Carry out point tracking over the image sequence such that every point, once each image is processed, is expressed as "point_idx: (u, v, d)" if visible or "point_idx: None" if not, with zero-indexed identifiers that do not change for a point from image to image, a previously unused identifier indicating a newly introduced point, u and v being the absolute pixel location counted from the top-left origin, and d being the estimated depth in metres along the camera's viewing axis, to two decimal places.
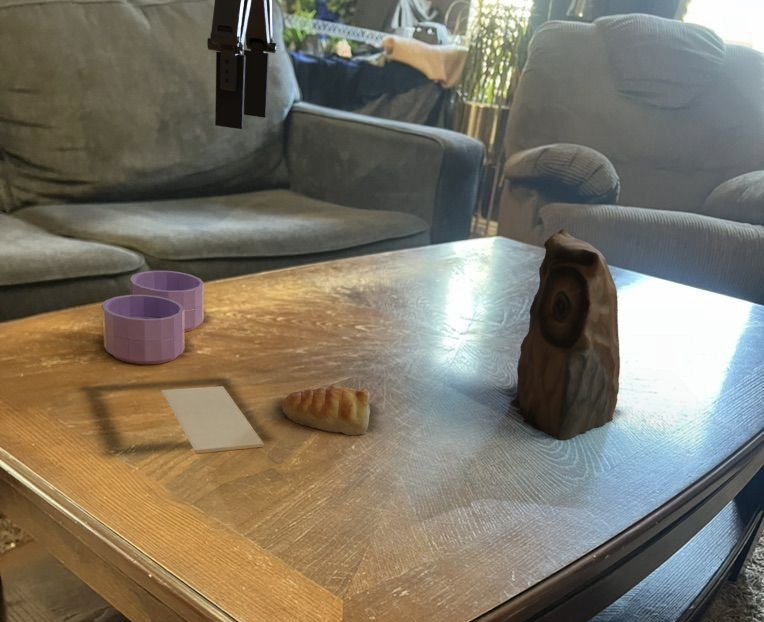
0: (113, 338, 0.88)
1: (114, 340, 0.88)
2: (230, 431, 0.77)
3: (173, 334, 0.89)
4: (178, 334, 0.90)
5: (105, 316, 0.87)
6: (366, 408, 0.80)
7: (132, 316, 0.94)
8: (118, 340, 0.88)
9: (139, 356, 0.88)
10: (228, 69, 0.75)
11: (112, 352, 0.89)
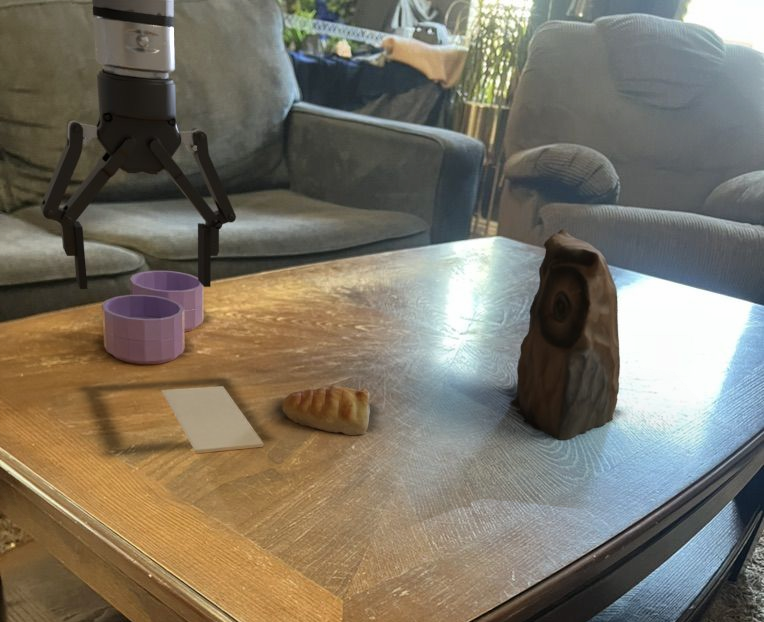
0: (113, 338, 0.88)
1: (114, 340, 0.88)
2: (230, 431, 0.77)
3: (173, 334, 0.89)
4: (178, 334, 0.90)
5: (105, 316, 0.87)
6: (366, 408, 0.80)
7: (132, 316, 0.94)
8: (118, 340, 0.88)
9: (139, 356, 0.88)
10: None
11: (112, 352, 0.89)
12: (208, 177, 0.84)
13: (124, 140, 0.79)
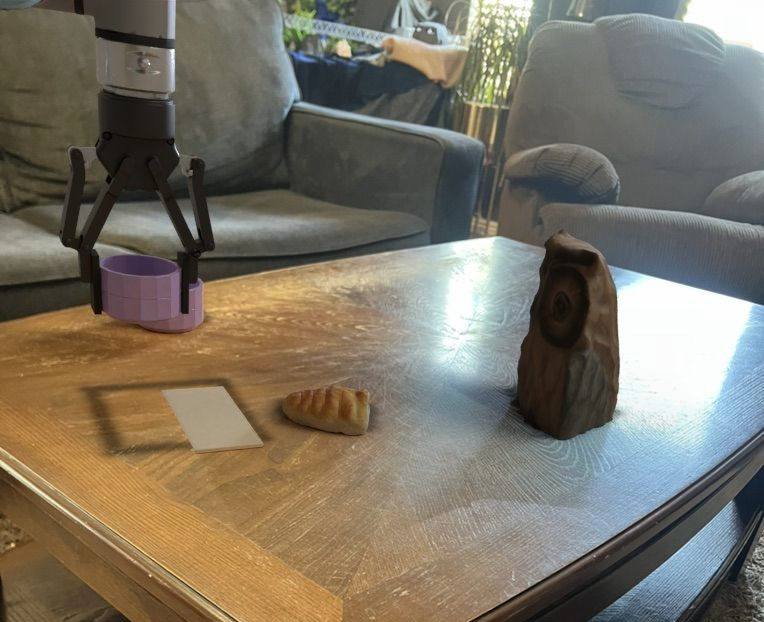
0: (108, 296, 0.85)
1: (109, 298, 0.85)
2: (230, 431, 0.77)
3: (170, 293, 0.87)
4: (175, 294, 0.88)
5: (100, 273, 0.85)
6: (366, 408, 0.80)
7: None
8: (113, 298, 0.85)
9: (134, 315, 0.86)
10: None
11: (106, 311, 0.86)
12: (197, 203, 0.85)
13: (122, 160, 0.80)
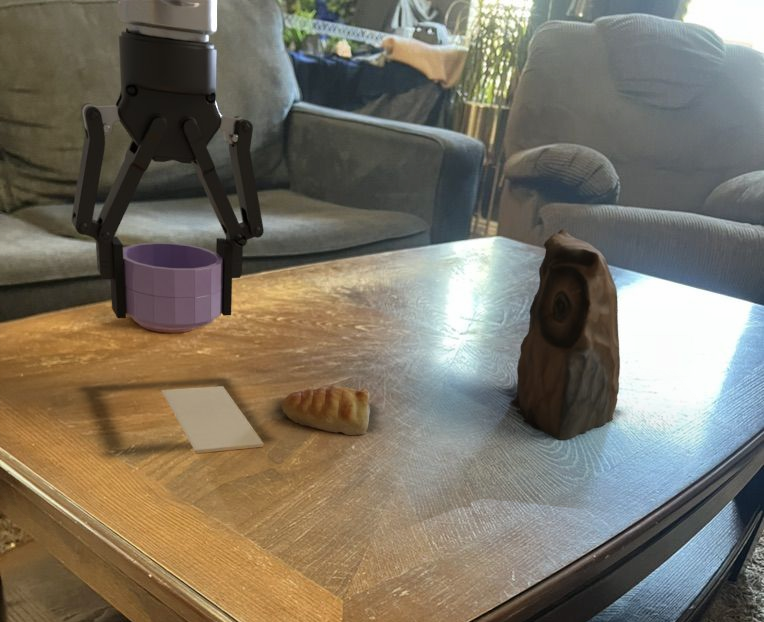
0: (134, 294, 0.68)
1: (135, 297, 0.68)
2: (230, 431, 0.77)
3: (210, 290, 0.70)
4: (216, 290, 0.71)
5: None
6: (366, 408, 0.80)
7: None
8: (140, 297, 0.68)
9: (167, 318, 0.69)
10: (99, 256, 0.68)
11: (131, 313, 0.70)
12: (242, 177, 0.68)
13: (151, 121, 0.63)
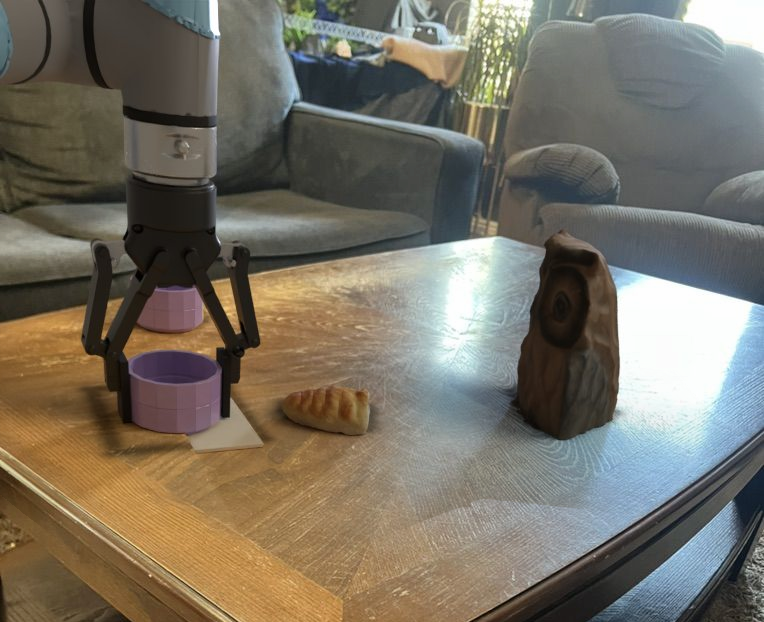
0: (138, 406, 0.73)
1: (140, 408, 0.73)
2: (230, 431, 0.77)
3: (210, 400, 0.75)
4: (215, 399, 0.75)
5: (129, 380, 0.73)
6: (366, 408, 0.80)
7: (159, 375, 0.79)
8: (145, 408, 0.73)
9: (170, 427, 0.74)
10: None
11: (136, 421, 0.74)
12: (240, 296, 0.73)
13: (155, 255, 0.67)
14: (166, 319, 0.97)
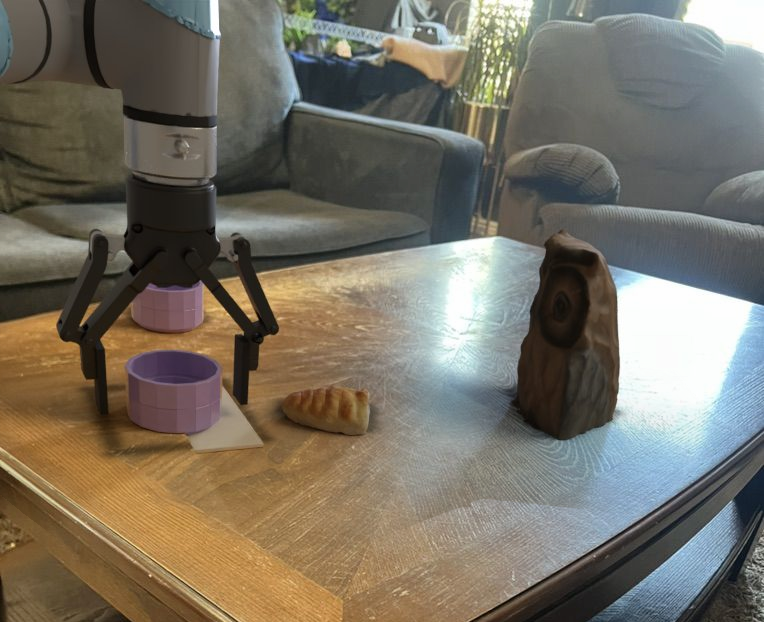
0: (139, 406, 0.73)
1: (140, 408, 0.73)
2: (230, 431, 0.77)
3: (210, 400, 0.75)
4: (215, 399, 0.75)
5: (129, 380, 0.73)
6: (366, 408, 0.80)
7: (159, 375, 0.79)
8: (145, 408, 0.73)
9: (170, 427, 0.74)
10: None
11: (136, 421, 0.74)
12: (250, 288, 0.73)
13: (156, 253, 0.67)
14: (166, 319, 0.97)
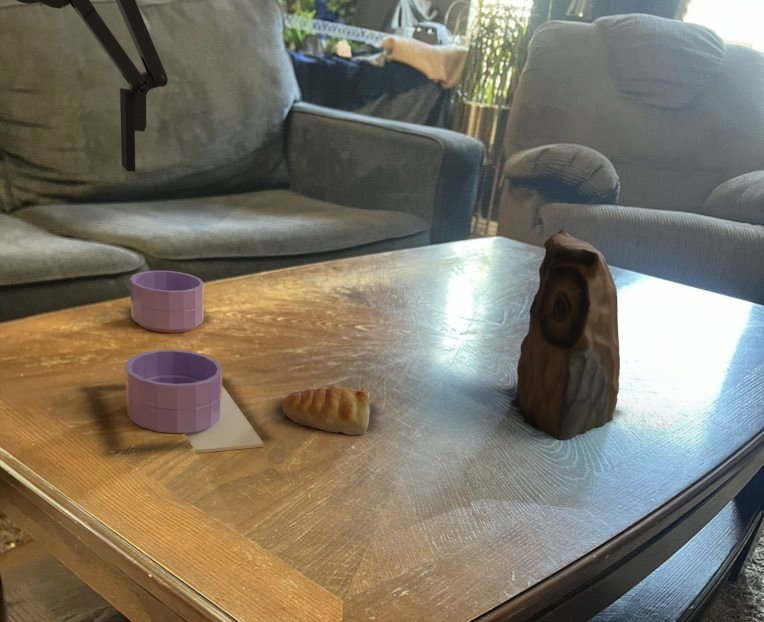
0: (139, 406, 0.73)
1: (140, 408, 0.73)
2: (230, 431, 0.77)
3: (210, 400, 0.75)
4: (215, 399, 0.75)
5: (129, 380, 0.73)
6: (366, 408, 0.80)
7: (159, 375, 0.79)
8: (145, 408, 0.73)
9: (170, 427, 0.74)
10: None
11: (136, 421, 0.74)
12: (130, 20, 0.66)
13: None
14: (166, 319, 0.97)
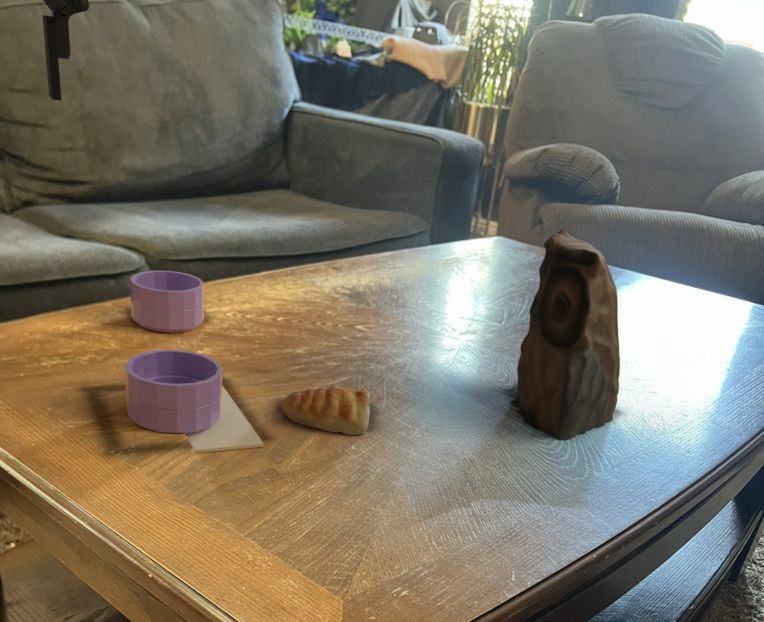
0: (139, 406, 0.73)
1: (140, 408, 0.73)
2: (230, 431, 0.77)
3: (210, 400, 0.75)
4: (215, 399, 0.75)
5: (129, 380, 0.73)
6: (366, 408, 0.80)
7: (159, 375, 0.79)
8: (145, 408, 0.73)
9: (170, 427, 0.74)
10: None
11: (136, 421, 0.74)
12: None
13: None
14: (166, 319, 0.97)
